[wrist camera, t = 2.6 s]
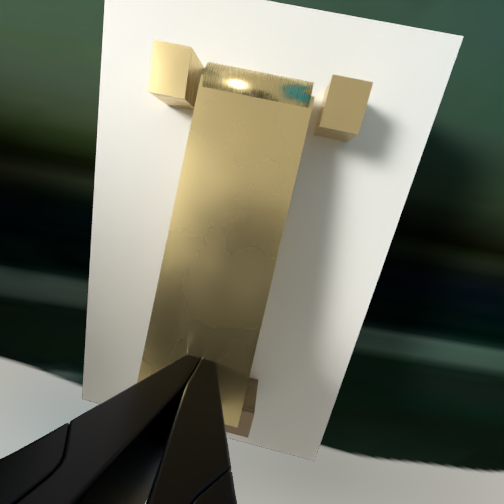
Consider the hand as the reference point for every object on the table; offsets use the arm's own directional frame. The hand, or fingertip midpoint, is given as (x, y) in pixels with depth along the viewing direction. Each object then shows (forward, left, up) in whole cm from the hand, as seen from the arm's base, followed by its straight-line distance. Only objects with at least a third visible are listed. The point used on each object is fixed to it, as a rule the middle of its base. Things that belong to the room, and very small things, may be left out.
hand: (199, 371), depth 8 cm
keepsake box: (+2, +2, -7) cm, 8 cm away
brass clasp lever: (+3, +2, -1) cm, 4 cm away
